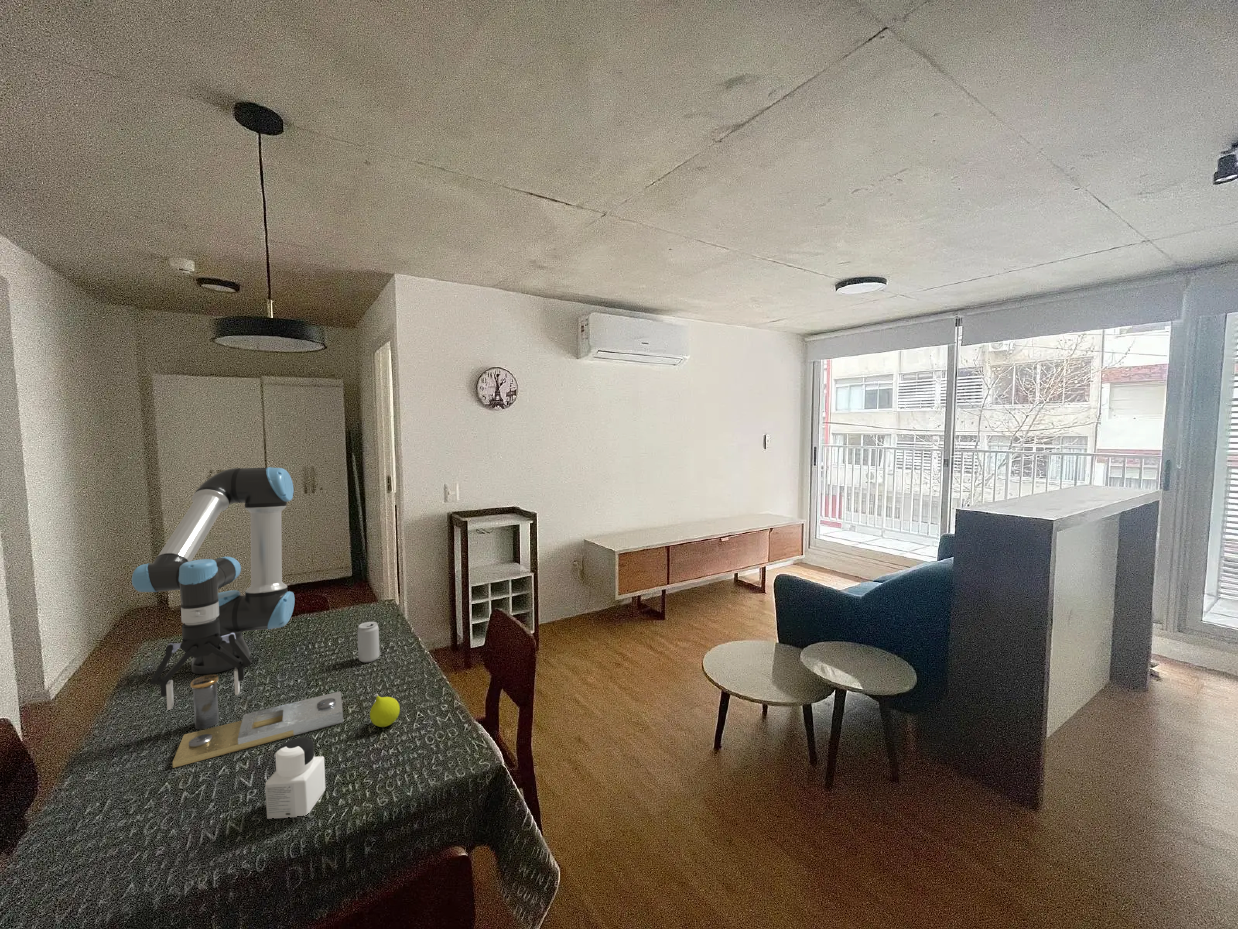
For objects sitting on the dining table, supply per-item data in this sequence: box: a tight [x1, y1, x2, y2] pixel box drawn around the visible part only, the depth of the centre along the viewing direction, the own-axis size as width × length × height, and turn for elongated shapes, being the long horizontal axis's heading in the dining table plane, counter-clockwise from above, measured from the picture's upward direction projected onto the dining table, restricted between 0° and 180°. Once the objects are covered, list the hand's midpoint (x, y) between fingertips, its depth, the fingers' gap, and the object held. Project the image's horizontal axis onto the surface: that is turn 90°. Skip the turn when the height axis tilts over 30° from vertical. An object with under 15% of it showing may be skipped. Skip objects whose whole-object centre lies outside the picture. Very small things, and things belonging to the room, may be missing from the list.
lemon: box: [369, 693, 401, 728], centre depth 131 cm, size 7×7×10 cm
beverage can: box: [356, 621, 381, 663], centre depth 168 cm, size 6×6×12 cm
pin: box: [189, 674, 220, 730], centre depth 131 cm, size 6×6×12 cm
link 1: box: [172, 715, 295, 768], centre depth 125 cm, size 12×23×2 cm, turn 122°
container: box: [265, 736, 326, 820], centre depth 103 cm, size 8×8×13 cm
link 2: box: [238, 690, 344, 744], centre depth 131 cm, size 12×22×4 cm, turn 122°
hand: (205, 700), depth 131 cm, fingers open, 13 cm apart
